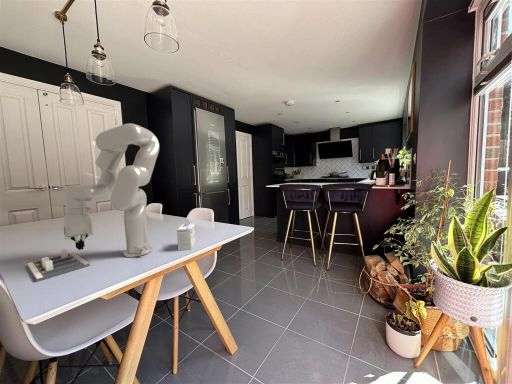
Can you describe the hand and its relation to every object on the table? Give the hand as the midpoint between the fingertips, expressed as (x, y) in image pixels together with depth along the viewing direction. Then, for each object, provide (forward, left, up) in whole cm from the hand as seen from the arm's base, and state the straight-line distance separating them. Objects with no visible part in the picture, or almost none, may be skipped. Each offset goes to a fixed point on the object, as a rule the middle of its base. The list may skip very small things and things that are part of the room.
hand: (80, 249), depth 103 cm
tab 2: (-13, +13, -2) cm, 18 cm away
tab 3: (-1, +6, -2) cm, 6 cm away
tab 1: (-7, +13, -2) cm, 15 cm away
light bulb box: (-35, -35, -4) cm, 50 cm away
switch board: (-7, +10, -3) cm, 12 cm away
